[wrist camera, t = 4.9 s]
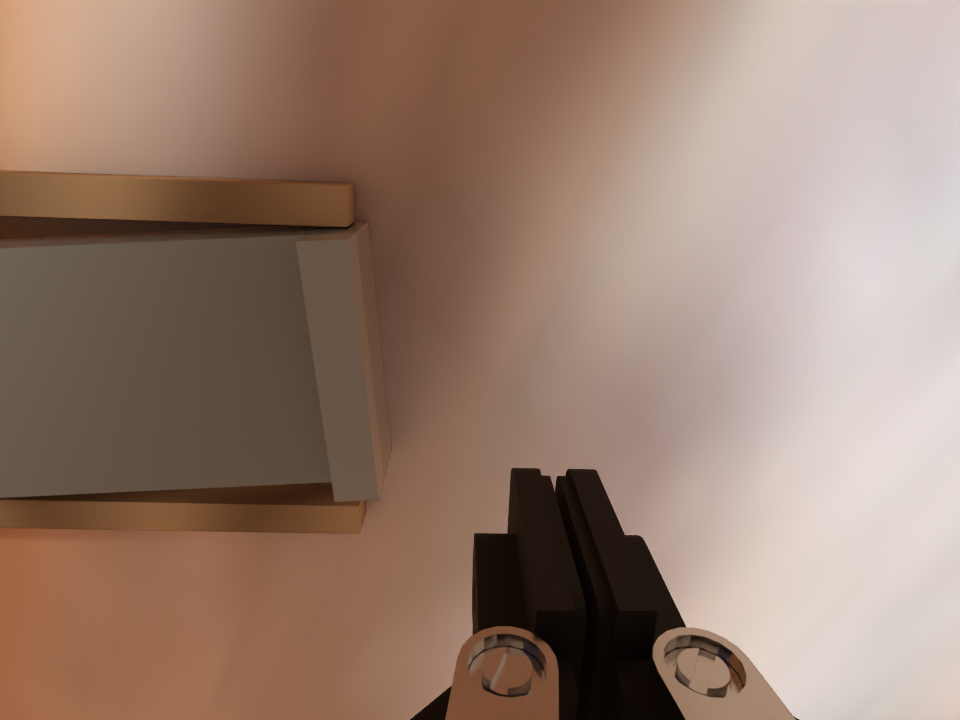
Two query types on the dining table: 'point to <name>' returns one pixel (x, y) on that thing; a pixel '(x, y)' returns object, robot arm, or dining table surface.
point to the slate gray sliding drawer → (191, 362)
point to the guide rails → (186, 203)
